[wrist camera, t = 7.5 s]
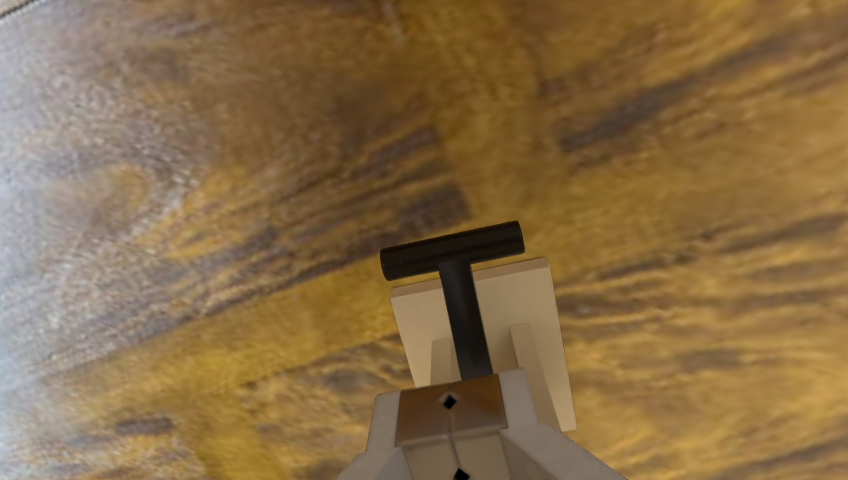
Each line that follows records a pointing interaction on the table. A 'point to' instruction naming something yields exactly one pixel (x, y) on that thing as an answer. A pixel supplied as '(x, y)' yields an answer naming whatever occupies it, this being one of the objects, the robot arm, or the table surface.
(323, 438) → the table surface
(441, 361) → the lever bracket
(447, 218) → the table surface
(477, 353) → the press lever
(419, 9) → the table surface
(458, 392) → the robot arm
